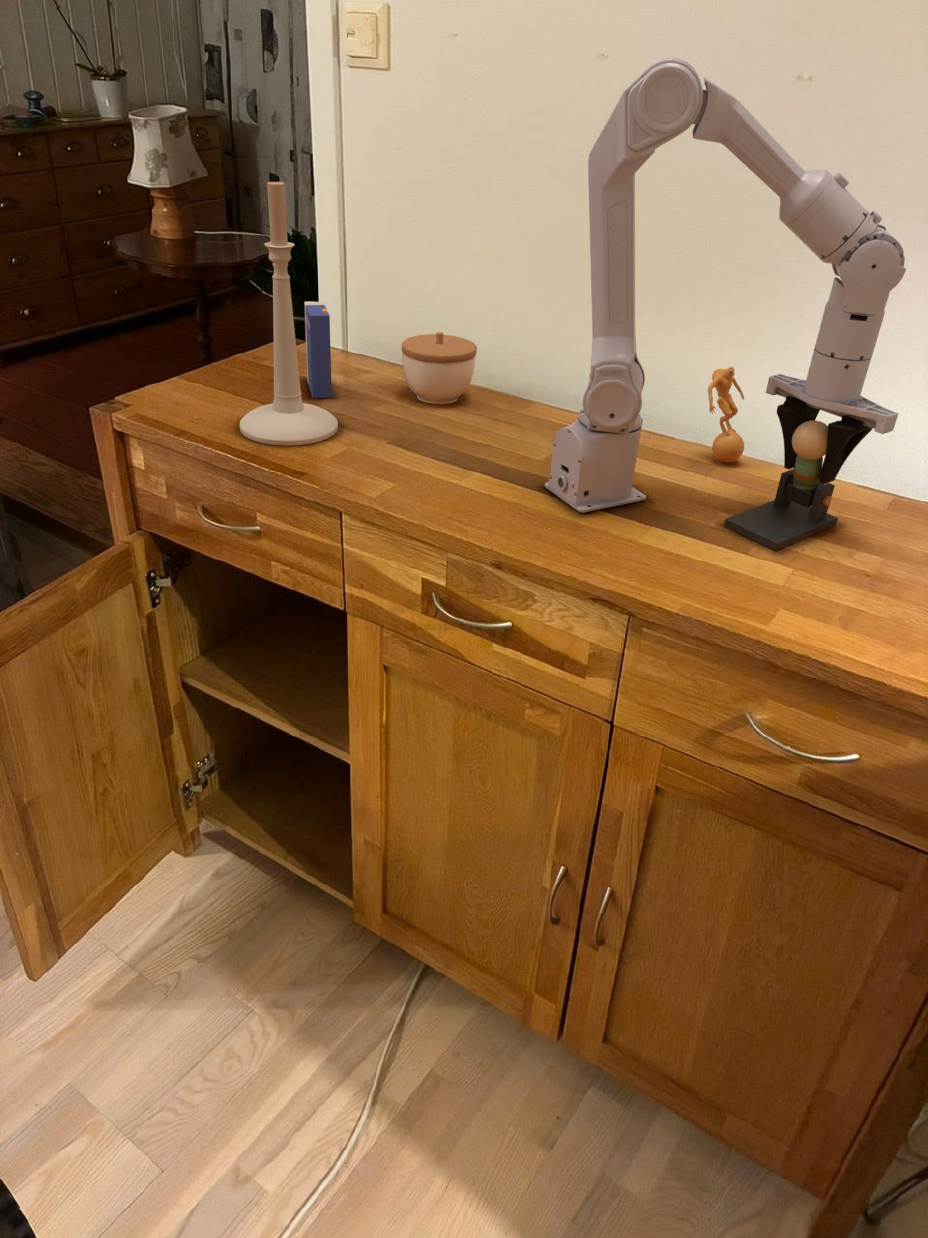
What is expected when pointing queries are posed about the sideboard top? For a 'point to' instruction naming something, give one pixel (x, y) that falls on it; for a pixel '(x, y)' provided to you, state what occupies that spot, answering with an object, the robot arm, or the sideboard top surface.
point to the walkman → (318, 349)
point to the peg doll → (807, 461)
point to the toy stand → (785, 517)
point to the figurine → (728, 442)
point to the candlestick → (285, 354)
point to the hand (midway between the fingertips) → (809, 473)
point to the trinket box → (438, 366)
